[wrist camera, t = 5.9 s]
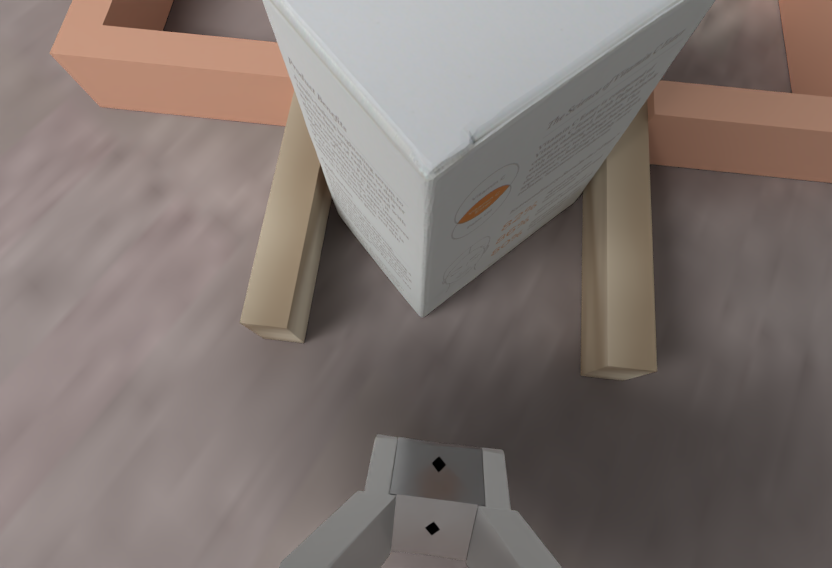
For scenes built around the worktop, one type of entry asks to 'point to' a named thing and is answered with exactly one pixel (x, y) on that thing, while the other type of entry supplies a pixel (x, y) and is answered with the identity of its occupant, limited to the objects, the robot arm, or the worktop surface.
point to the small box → (468, 116)
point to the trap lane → (601, 252)
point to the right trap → (755, 112)
